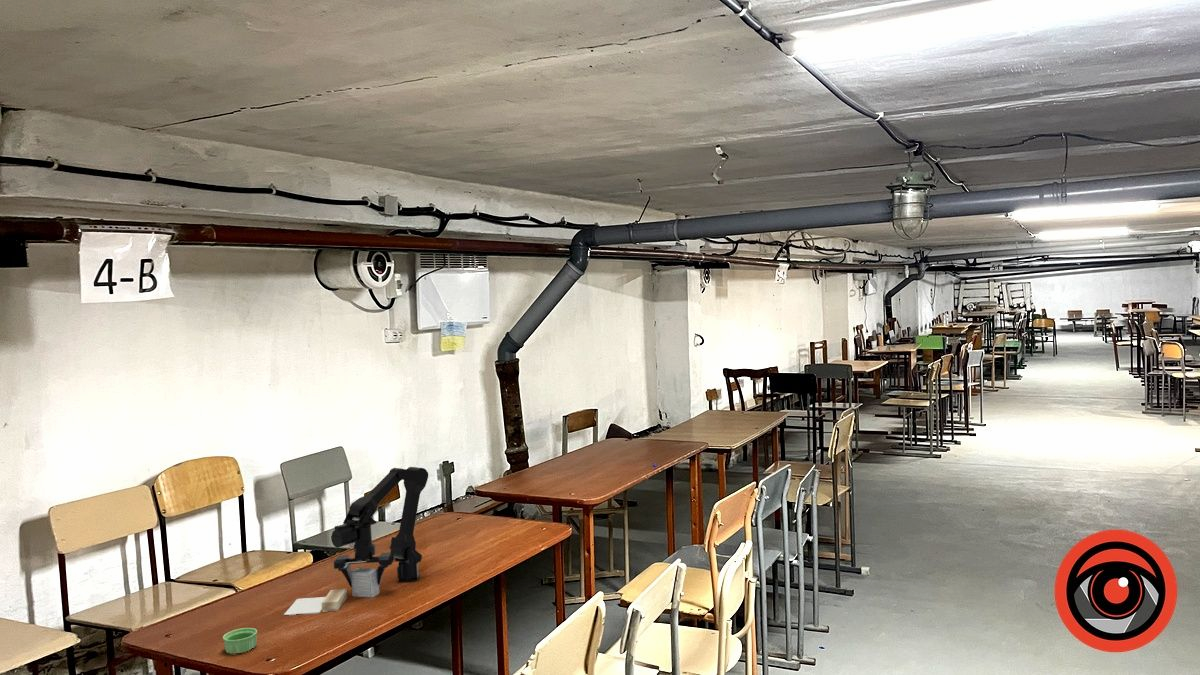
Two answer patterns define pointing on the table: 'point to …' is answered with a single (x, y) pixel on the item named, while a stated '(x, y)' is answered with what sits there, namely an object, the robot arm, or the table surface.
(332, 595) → the step block
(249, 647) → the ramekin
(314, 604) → the mat
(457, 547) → the table surface
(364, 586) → the medicine box
